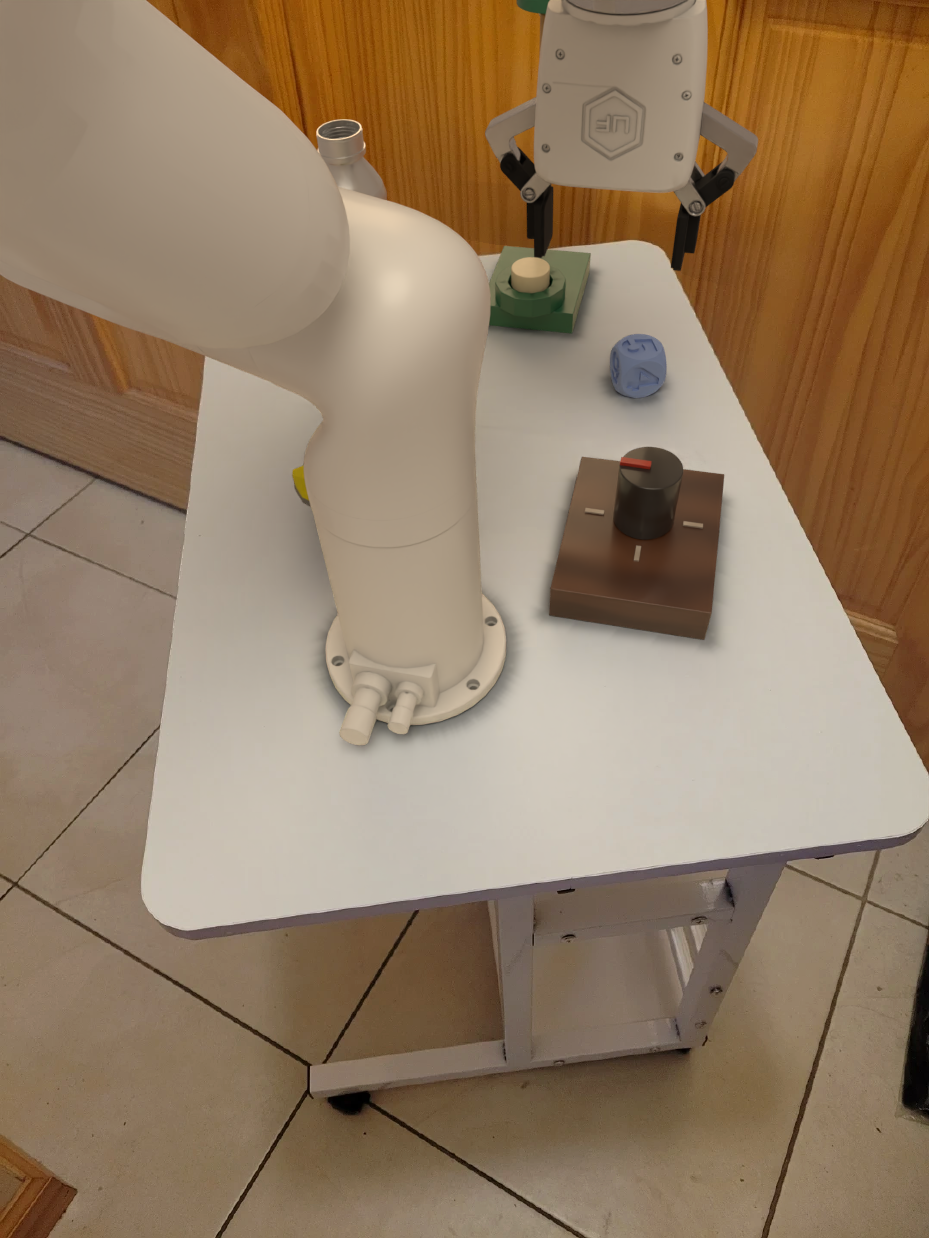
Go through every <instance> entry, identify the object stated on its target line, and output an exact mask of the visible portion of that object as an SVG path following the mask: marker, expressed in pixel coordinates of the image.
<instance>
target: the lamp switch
mask: <svg viewBox="0 0 929 1238" xmlns="http://www.w3.org/2000/svg"><path fill="white" fill-rule="evenodd" d="M549 281H550V266H549V264H548V262H546V261H545V260H543V259H540V258H535V257H527V258H522V259H519V260H517V261H516V262H514V263H513V265H512V267H511V285H512V287H513V289H514V290H517V291H519V292H524V293H536V292H541V291H544V290H545V289H547V288H548V286H549Z"/></svg>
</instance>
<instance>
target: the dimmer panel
mask: <svg viewBox="0 0 929 1238" xmlns="http://www.w3.org/2000/svg"><path fill="white" fill-rule="evenodd" d="M619 464H620V460H614V459H605V458H598V457H591V456H581V458H580V462H579V467H578V471H577V474H576V479H575V483H574V488H573V492H572V495H571V501H570V504H569V508H568V513H567V517H566V520H565V525H564V529H563V533H562V538H561V541H560V546H559V550H558V555H557V558H556V563H555V566H554V570H553V576H552V580H551V584H550V588H549V605H548V608H549V609H548V615H549V616H551V617H557V618H558V617H559V618H562V619H568V620H569V619H570V620H576V621H583V622H587V623H588V622H589V623H595V624H601V625H608V626H614V627H620V628H627V629H633V630H640V631H646V632H652V633H658V634H665V635H671V636H675V637H676V636H678V637H683V638H690V639H697V640H701V641H702V640H703V641H705V639H706V636H707V631H708V628H709V624H710V621H711V617H712V614H713V605H714V604H713V603H714V595H715V593H714V592H715V582H716V572H717V562H718V561H717V560H718V551H719V550H718V547H719V540H720V539H719V537H720V529H721V528H720V527H721V516H722V507H723V506H722V505H723V495H724V485H725V473H718V472H709V471H701V470H694V469H685V468H683V477H682V482H681V487H680V492H679V497H678V502H677V508H676V513H675V518H674V523H673V526H672V528H671V529H670V530H669V531H668V532H667V533H666V534H665V535H663V536H661V537H659V538H655V539H648V540H643V539H636V538H633V537H630V536H628V535H626V534H624V533H623V532H621V531H620V530H619V529H618V528H617V526H616V525H615V522H614V519H613V513H614V505H615V497H616V488H617V480H618V472H619Z"/></svg>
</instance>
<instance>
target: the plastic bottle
mask: <svg viewBox="0 0 929 1238" xmlns="http://www.w3.org/2000/svg"><path fill="white" fill-rule="evenodd" d="M315 136H316V141H317V151H318V152H319V154H320V155H321V157H322V158H323V160H324V162H325V163H326V165H327V166H328V168H329V170H330V172H331V174H332V176H333V178H334V180H335V182H336V184H337V186H338V187H342V188H345V189H349V190H352V191H356V192H359V193H363V194H366V195H370V196H373V197H377V198H380V199H384V200H387V201H388V193H387V188H386V186H385V184H384V180H383V179H382V177H381V176H380V174H379V173H378V171H376V169H375V167H374V166H373V165H372V164H371V163H370V162H369V161H368V160H367V159H366V157H365V154H366V153H367V146H366V142H365V141H364V133H363V128H362V124H361V123H360V122H359V121H356V120H353V119H346V118H345V119H334V120H330V121H327V122H324V123H322V124H321V125H320V126H318V128H317V129H316V135H315Z"/></svg>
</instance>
